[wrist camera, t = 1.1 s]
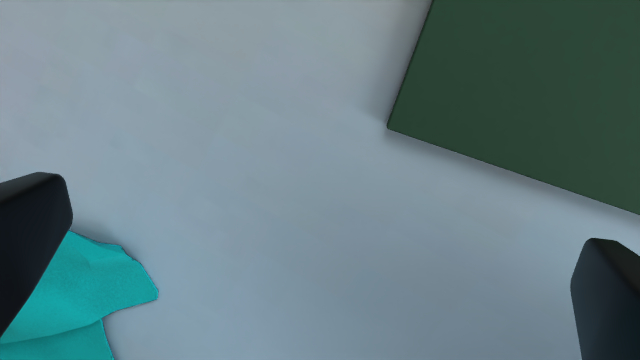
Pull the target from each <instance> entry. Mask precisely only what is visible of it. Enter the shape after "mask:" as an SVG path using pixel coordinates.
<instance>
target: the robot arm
mask: <svg viewBox="0 0 640 360" xmlns="http://www.w3.org/2000/svg"><path fill="white" fill-rule="evenodd" d="M72 220H73V212H72V207H71V203H70V199H69V195H68V190H67V186H66V182H65V180H64V178H63V177H62V176H60V175H59V174H53V173H45V172H36V173H32V174H29V175H26V176H22V177H19V178H16V179H12V180H9V181H6V182H2V183H0V338H1V337H2V335H3V334H4V332H5V331H6V330H7V328H8V327H9V325H10V324H11V323H12V321H13V320H14V318H15V317H16V316H17V314H18V313H19V311H20V310H21V309H22V307H23V306H24V304H25V303H26V302H27V300H28V299H29V297H30V296H31V294H32V293H33V291H34V289H35V288H36V286H37V284H38V283H39V281H40V279H41V277H42V276H43V274H44V272H45V270H46V269H47V267H48V265H49V263H50V262H51V260H52V258H53V256H54V255H55V253H56V251H57V249H58V248H59V246H60V244H61V242H62V241H63V239H64V237H65V235H66V234H67V232H68V230H69V228H70V226H71V224H72ZM570 288H571V297H572V303H573V308H574V314H575V320H576V326H577V332H578V338H579V344H580V349H581V355H582V360H640V256H638V255H637V254H635V253H634V252H633V251H631V250H630V249H628V248H627V247H625V246H624V245H622V244H621V243H619V242H617V241H614V240H607V239H599V238H590V239H588V240H587V241H586V242H585V244H584V246H583V248H582V251H581V254H580V256H579V259H578V262H577V264H576V267H575V270H574V272H573V275H572V278H571V285H570Z"/></svg>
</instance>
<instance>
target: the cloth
mask: <svg viewBox="0 0 640 360" xmlns="http://www.w3.org/2000/svg"><path fill="white" fill-rule="evenodd" d="M157 298H158V290H157V288H156V287H155V285H154V283H153V282H152V280H151V279H150V277H149V276H148V274H147V273H146V271H145V269H144V268H143V266H142V265H141V263H139V262H138V261H136V260H134V259H133V258H131V257H130V256H128V255H127V254H126V253H125V251H124V250H123V248H122V247H121V246H119V245H113V244H106V243H100V242H96V241H94V240H91V239H89V238H86V237H84V236H81V235H79V234H77V233H74V232H72V231H69V230H68V232H67V234H66V235H65V237H64V239H63V241H62V242H61V244H60V246H59V248H58V249H57V251H56V253H55V255H54V256H53V258H52V260H51V262H50V263H49V265H48V267H47V269H46V270H45V272H44V274H43V276H42V277H41V279H40V281H39V283H38V284H37V286H36V288H35V289H34V291H33V293H32V294H31V296H30V297H29V299H28V300H27V302H26V303H25V304H24V306H23V307H22V309H21V310H20V311H19V313H18V314H17V316H16V317H15V318H14V320H13V321H12V323H11V324H10V325H9V327H8V328H7V330H6V331H5V332H4V334H3V335H2V337H1V338H0V360H115V359H114V357H113V354H112V352H111V349H110V347H109V344H108V342H107V339H106V335H105V331H104V326H103V322H102V318H103V317H105V316H107V315H108V314H110V313H112V312H114V311H116V310H120V309H124V308H127V307H131V306H135V305H138V304H142V303H146V302H149V301H153V300H156V299H157Z"/></svg>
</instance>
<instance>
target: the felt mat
mask: <svg viewBox="0 0 640 360" xmlns="http://www.w3.org/2000/svg"><path fill="white" fill-rule="evenodd" d="M387 128H388V129H390V130H393V131H396V132H399V133H402V134H405V135H408V136H411V137H413V138H416V139H419V140H422V141H425V142H428V143H431V144H434V145H437V146H440V147H443V148H446V149H449V150H451V151H454V152H457V153H460V154H463V155H466V156H469V157H472V158H475V159H478V160H481V161H484V162H486V163H489V164H492V165H495V166H498V167H501V168H504V169H507V170H510V171H513V172H516V173H519V174H522V175H524V176H527V177H530V178H533V179H536V180H539V181H542V182H545V183H548V184H551V185H554V186H557V187H560V188H562V189H565V190H568V191H571V192H574V193H577V194H580V195H583V196H586V197H589V198H592V199H595V200H598V201H600V202H603V203H606V204H609V205H612V206H615V207H618V208H621V209H624V210H627V211H630V212H633V213H636V214H638V215H640V0H433V1H432V4H431V6H430V9H429V12H428V14H427V17H426V20H425V23H424V25H423V28H422V31H421V33H420V36H419V39H418V41H417V44H416V47H415V50H414V52H413V55H412V58H411V60H410V63H409V66H408V69H407V71H406V74H405V77H404V79H403V82H402V85H401V87H400V90H399V93H398V96H397V98H396V101H395V104H394V106H393V109H392V112H391V114H390V117H389V120H388V123H387Z"/></svg>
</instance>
